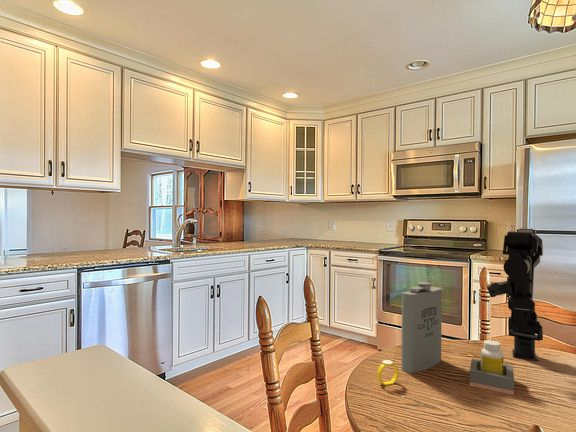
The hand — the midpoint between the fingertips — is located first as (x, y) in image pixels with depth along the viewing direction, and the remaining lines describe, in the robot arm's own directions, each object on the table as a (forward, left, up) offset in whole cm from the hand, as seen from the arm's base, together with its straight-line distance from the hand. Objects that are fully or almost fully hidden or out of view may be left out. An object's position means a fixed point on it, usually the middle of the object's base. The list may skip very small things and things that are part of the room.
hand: (519, 327), depth 107 cm
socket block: (+14, -7, -12) cm, 20 cm away
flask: (+11, -25, -13) cm, 30 cm away
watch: (+29, -31, -13) cm, 44 cm away
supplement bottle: (+14, -7, -12) cm, 19 cm away
